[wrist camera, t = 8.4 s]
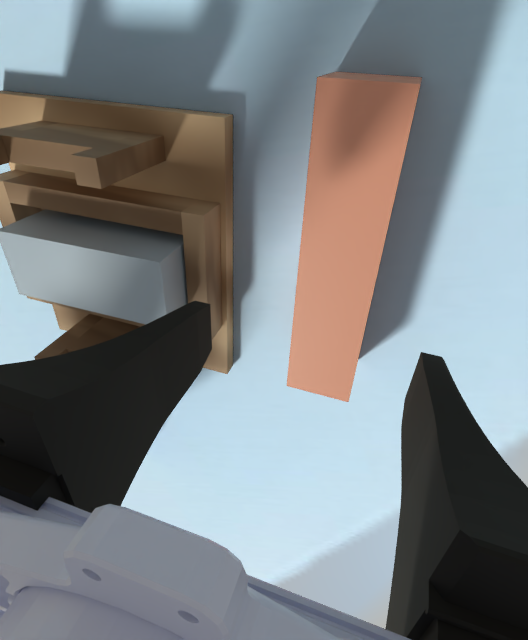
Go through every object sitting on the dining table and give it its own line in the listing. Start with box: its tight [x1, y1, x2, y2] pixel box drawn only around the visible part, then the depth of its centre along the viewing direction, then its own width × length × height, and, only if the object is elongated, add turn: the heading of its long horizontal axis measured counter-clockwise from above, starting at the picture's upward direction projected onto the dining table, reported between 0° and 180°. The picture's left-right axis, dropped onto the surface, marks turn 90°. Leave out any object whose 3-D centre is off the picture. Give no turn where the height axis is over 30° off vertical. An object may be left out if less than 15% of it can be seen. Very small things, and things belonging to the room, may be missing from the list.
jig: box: [0, 91, 233, 374], centre depth 23 cm, size 16×14×6 cm
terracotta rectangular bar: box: [287, 72, 422, 402], centre depth 20 cm, size 15×4×4 cm, turn 178°
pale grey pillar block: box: [0, 209, 188, 324], centre depth 23 cm, size 4×10×4 cm, turn 88°
